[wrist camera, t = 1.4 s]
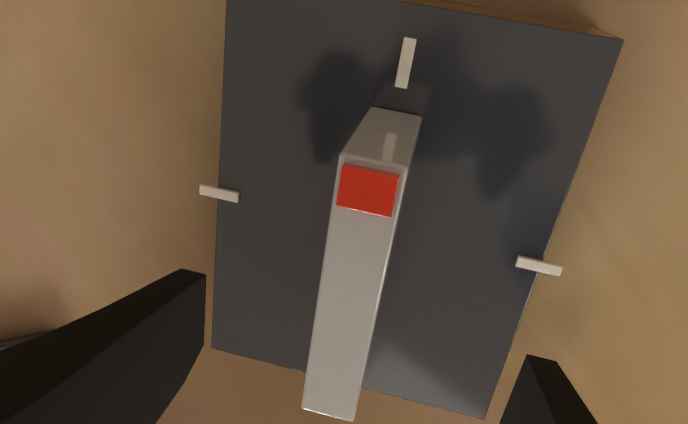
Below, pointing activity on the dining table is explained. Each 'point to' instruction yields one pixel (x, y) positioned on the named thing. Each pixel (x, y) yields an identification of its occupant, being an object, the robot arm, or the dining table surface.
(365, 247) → the upright gray tile
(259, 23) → the tile base
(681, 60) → the dining table surface
